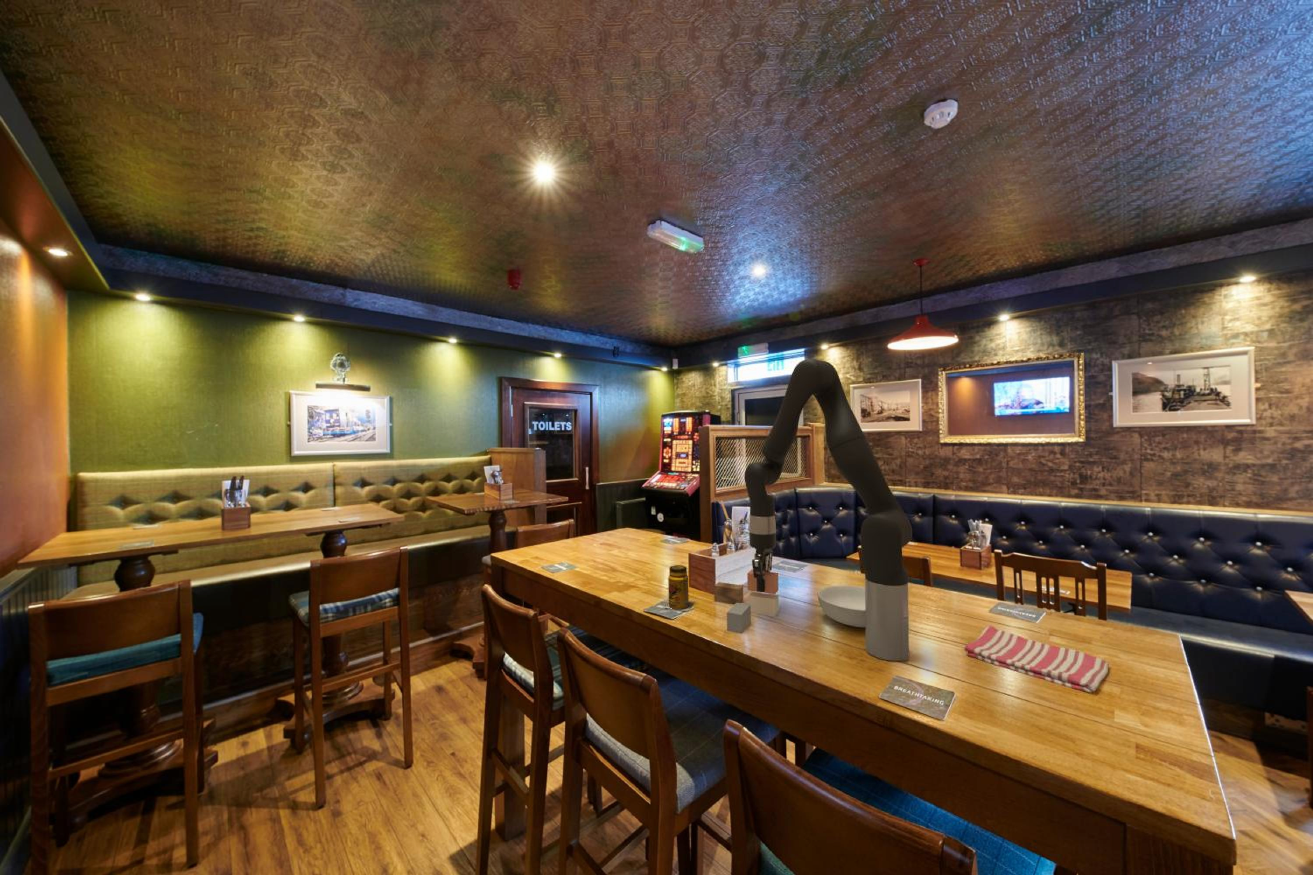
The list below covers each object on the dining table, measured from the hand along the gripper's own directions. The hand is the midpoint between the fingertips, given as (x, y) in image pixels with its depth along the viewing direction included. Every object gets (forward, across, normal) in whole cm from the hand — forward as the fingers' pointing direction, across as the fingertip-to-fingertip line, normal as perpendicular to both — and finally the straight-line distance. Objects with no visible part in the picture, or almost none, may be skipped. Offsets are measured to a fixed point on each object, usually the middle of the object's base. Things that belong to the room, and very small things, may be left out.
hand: (763, 588), depth 139 cm
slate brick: (+7, -13, +3) cm, 15 cm away
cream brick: (+7, 0, 0) cm, 7 cm away
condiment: (+7, -6, +24) cm, 26 cm away
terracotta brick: (0, 0, 0) cm, 0 cm away
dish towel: (+8, -2, -63) cm, 63 cm away
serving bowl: (+7, +5, -25) cm, 26 cm away
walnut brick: (+7, +4, +12) cm, 14 cm away
